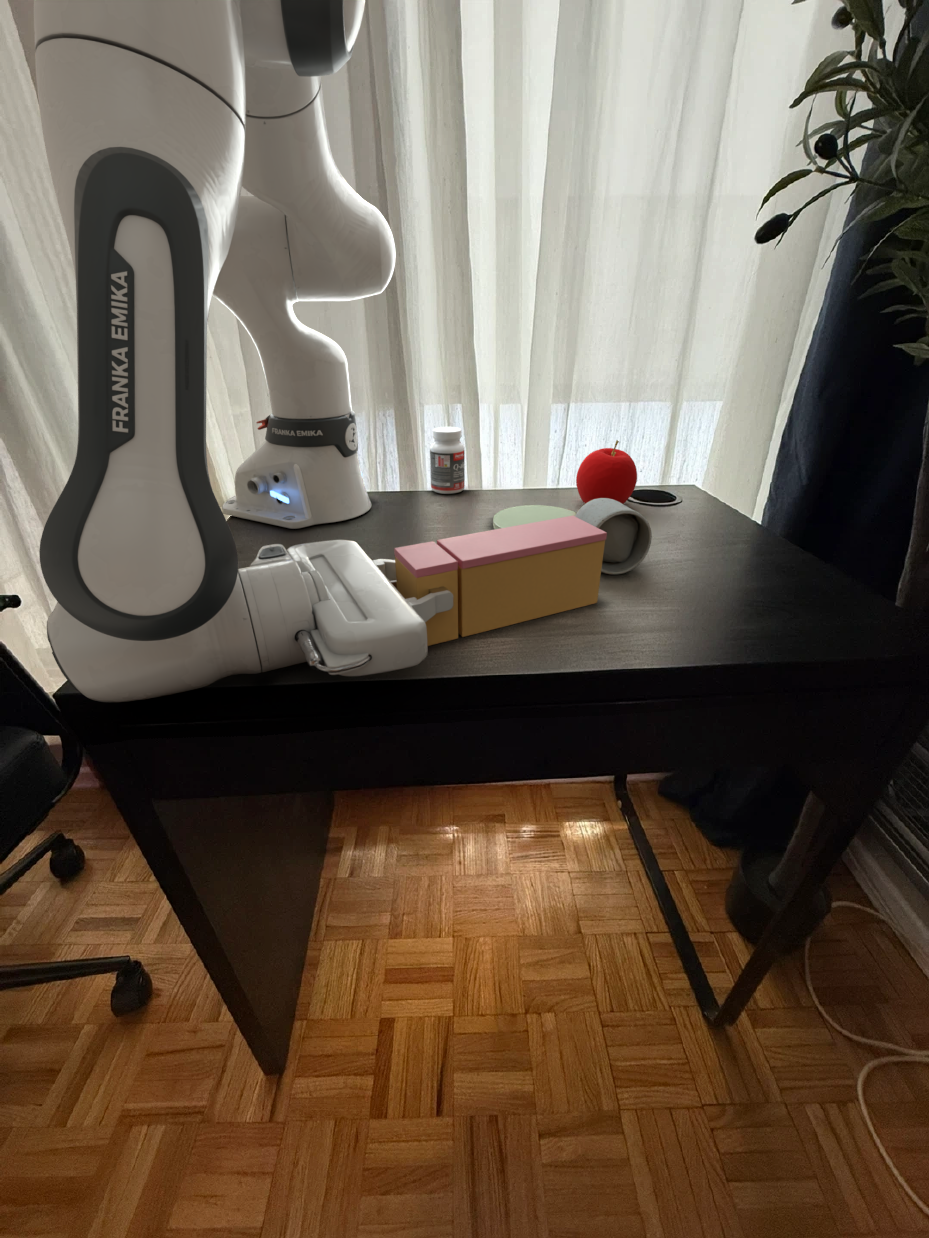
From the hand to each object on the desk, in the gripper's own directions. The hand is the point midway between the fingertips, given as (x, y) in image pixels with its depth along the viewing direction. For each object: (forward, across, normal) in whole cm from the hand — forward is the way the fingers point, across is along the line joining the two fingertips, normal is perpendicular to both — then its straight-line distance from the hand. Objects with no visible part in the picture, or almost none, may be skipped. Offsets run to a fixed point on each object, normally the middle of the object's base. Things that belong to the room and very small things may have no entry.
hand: (434, 582), depth 53 cm
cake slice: (-1, 0, +5) cm, 5 cm away
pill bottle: (+20, +42, +5) cm, 47 cm away
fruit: (+39, +23, +5) cm, 45 cm away
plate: (+25, +20, +5) cm, 32 cm away
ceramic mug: (+24, +6, +5) cm, 25 cm away
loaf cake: (+10, 0, +5) cm, 11 cm away
